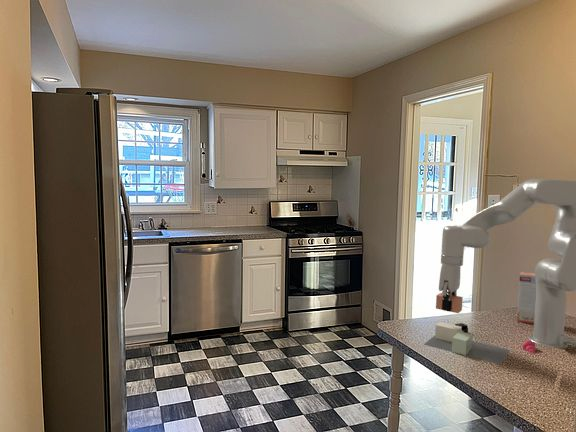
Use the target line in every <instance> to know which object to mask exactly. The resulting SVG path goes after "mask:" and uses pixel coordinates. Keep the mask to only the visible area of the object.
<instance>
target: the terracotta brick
mask: <svg viewBox="0 0 576 432" xmlns="http://www.w3.org/2000/svg"><path fill="white" fill-rule="evenodd" d="M447 294H448V293H447ZM448 295H449V294H448ZM442 297H443V296H442V292H440V293H438V294H436V297H435V298H436V299H435V300H436V301H435V310H441V311H443V310H442ZM463 299H464V298H463V296H459V295H457V296H454V295H452V296H451V301H452V307H451V311H450V312H449V313H454V314H459V313H461V312H462V311H463Z"/></svg>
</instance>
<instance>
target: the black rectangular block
mask: <svg viewBox="0 0 576 432" xmlns="http://www.w3.org/2000/svg"><path fill="white" fill-rule="evenodd" d="M454 325H456V326H460V327H462V331H461V332H465V333H469V327H468V325H467V324H465V323H463V322H461V323H455V324H454Z"/></svg>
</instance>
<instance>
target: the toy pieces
mask: <svg viewBox="0 0 576 432" xmlns="http://www.w3.org/2000/svg"><path fill="white" fill-rule="evenodd" d="M521 345H522V349H523V350H525V351H526V352H528V353H530V354H532V355H535V354H536V343H535V342H533V341H531V340H526V341H524V342H523V344H521Z"/></svg>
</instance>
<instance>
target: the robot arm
mask: <svg viewBox="0 0 576 432" xmlns="http://www.w3.org/2000/svg"><path fill="white" fill-rule="evenodd" d="M536 204H544V205H551V206H552V205H553V206H554V208H555V213H556V216H555V221H554V223H553V226H552V229H551V232H550V236H549V238H548V242H547V248H548V251H549V252H550V253H552V254H553V255H555V256H557V257H561V260H560V259H557V258H552V257H547V258H543V259H542V260H541V259H540V261H538V263H537V264H536V265H535V268H534V273H535V279H536V303H535V317H534V324H533V330H532V331H533V332H532V334H530V335H528V338H527V339H528V340H529V341H533V342H534V343H535V344H537V345H540V346H545V347H549V348H550V347H551V348H556V349H557V348H559V349H561V348H562V349H563V348H564V349H568V348H569V344H570V345H573V346H576V338H575V337H571V336H568V335H566V331H565V324H566V323H565V321H566V311H567V309H566V308H567V300H568V299H567V292H576V180H564V179H563V180H559V179H550V178H549V179H547V178H530V179H527V180H525V181H523V182H522V183H520V184H519V185H518V186H516V187H515V188H514V189H513V190H512V191H510V192H509V193H507V194H506V196H504V197H503V198H501V199H500V200H499V201H497V203H495V204H493V205H491V206H489V207H487V208H485V209H483V210H481V211H480V212H476V214H474V215H473V216H472V217H470V218H469V219H468V220H466V221H465V222H464V223H463V224H461V226H458V225H457V226H456V225H447V226H444V227H443V228H442V234H441V236H442V238H441V252H440V253H441V254H440V255H441V256H440V264H441V268H440V273H439V282H438V290H439V292H441V293H442V296H443V297H442V310H441V311H444V312H449V313H451V312H450V311H451V307H452V301H451V296H452V295H454V296H458V295H457V294H458V293H457V291H458V290H459V288H460V285H461V267H462V266H463V265H464V253H465V247H467V248H473V249H483V248H485V247H487V246H488V245H489V244H490V241H491V236H490V233H489V232H488V230H490V229H491V228H494V227H497V226H500V225H503V224H505V225H506V224H508V223H512V222H515V221H516V220H517V219H519V218H520V217H521V216H523V214H524V213H526V212H527V211H529V210H530V209H531V208H532V207H533V206H535V205H536ZM448 294H449V295H448ZM528 340H527V341H528Z"/></svg>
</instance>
